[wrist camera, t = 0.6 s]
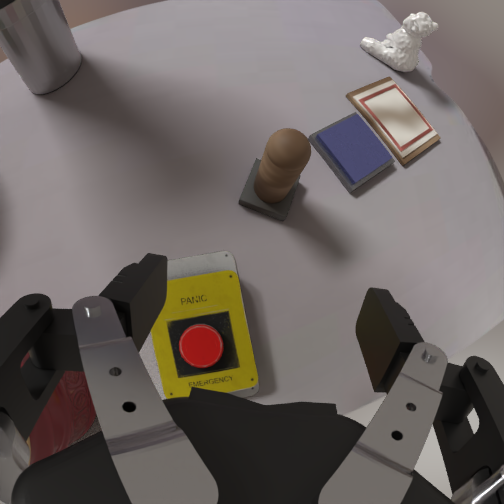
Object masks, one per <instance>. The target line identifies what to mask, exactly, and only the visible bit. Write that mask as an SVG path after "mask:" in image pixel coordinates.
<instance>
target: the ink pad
mask: <svg viewBox="0 0 504 504" xmlns="http://www.w3.org/2000/svg"><path fill="white" fill-rule="evenodd" d="M308 140H309V141H310V143H311V144H312V145H313V146H314V148H315V149H316V150H317V151H318V153H319V154H320V155H321V156H322V158H323V159H324V160H325V162H326V163H327V164H328V165H329V167H330V168H331V169H332V171H333V172H334V173H335V175H336V176H337V177H338V179H339V180H340V181H341V183H342V184H343V185H344V187H345V188H346V189H347V191H348V192H349V193H351V192H352V191H354V190H355V189H356V188H358V187H359V186H361V185H362V184H364V183H365V182H367V181H368V180H369V179H371V178H372V177H374V176H375V175H377V174H378V173H380V172H381V171H382V170H384V169H385V168H387V167H388V166H390V165H391V164H392V163H394V162H395V161H394V159H393V158H392V156H391V155H390V154H389V152H388V151H387V150H386V148H385V147H384V146H383V144H382V143H381V142H380V141H379V139H378V138H377V137H376V136H375V134H374V133H373V132H372V131H371V129H370V128H369V127H368V126H367V125H366V123H365V122H364V121H363V120H362V119H361V117H360V116H359V115H358V114H357V113H356V112H355V113H353V114H351V115H349V116H347V117H345V118H343V119H341V120H339V121H337V122H335V123H333V124H331V125H329V126H327V127H325V128H323V129H321V130H319V131H317V132H315V133H313V134H312V135H310V136H309V138H308Z"/></svg>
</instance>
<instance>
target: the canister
mask: <svg viewBox="0 0 504 504" xmlns="http://www.w3.org/2000/svg"><path fill="white" fill-rule="evenodd" d="M29 356H30V355H29V352H28V353H27V354H26V356H25V357H24V358H23V360H22V362H21V367H22V366H23V364H24V363H25V362H26V360H27V359H28V358H29ZM95 417H96V411H95V407H94V404H93V401H92V397H91V394H90V390H89V387H88V383H87V379H86V376H85V372H80V371H65V373H64V375H63V376H62V378H61V380H60V381H59V383H58V385H57V386H56V388H55V390H54V392H53V393H52V395H51V397H50V399H49V400H48V402H47V404H46V406H45V407H44V409H43V411H42V413H41V415H40V417H39V418H38V420H37V422H36V424H35V426H34V428H33V430H32V432H31V434H30V435H29V437H28V439H27V441H26V442H27V444H28V446H29V449H30V459H29V463H28V465H29V466H30V465H31V464H33V463H35V462H37V461H39V460H42V459H44V458H46V457H48V456H50V455H53V454H55V453H57V452H59V451H61V450H63V449H66V448H68V447H69V446H70V445H71V444H72V443H73V442H74V441H76V440H78V439H80V438H81V437H82V436H83V435H84V434H85V433H86V432H87V431H88V430H89V429H90V427H91V426H92V424H93V422H94V420H95Z"/></svg>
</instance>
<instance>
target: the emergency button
mask: <svg viewBox="0 0 504 504" xmlns="http://www.w3.org/2000/svg"><path fill="white" fill-rule="evenodd" d="M167 261H168V265H167V297H166V301H165V305H164V307H163V309H162V311H161V312H160V314H159V316H158V318H157V320H156V322H155V323H154V325H153V327H152V329H151V331H150V332H151V337H152V342H153V347H154V352H155V356H156V361H157V365H158V370H159V374H160V378H161V383H162V387H163V391H164V394H165V396H166V398H167V399H169V398H175V397H189V395H190V391H191V388H192V387H197V388H202V389H208V390H213V391H219V392H225V393H229V394H232V395H235V396H238V397H241V398H244V397H249V396H253V395H254V394H256V393H257V392H258V390H259V380H258V374H257V369H256V364H255V359H254V354H253V349H252V344H251V339H250V334H249V329H248V324H247V319H246V314H245V309H244V304H243V299H242V294H241V289H240V283H239V278H238V275H237V269H236V264H235V259H234V257H233V255H232V254H231V253H230V252H228V251H219V252H214V253H208V254H202V255H196V256H190V257H185V258H179V259H173V260H167Z"/></svg>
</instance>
